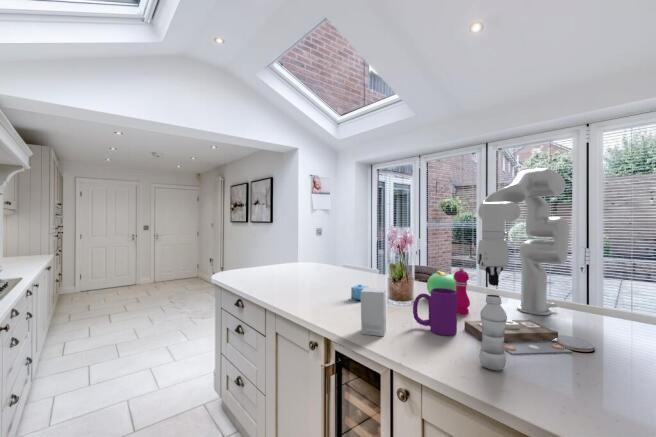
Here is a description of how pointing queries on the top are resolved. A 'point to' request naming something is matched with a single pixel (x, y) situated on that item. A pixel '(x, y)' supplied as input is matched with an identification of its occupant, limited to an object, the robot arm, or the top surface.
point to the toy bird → (441, 281)
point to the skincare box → (373, 311)
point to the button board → (517, 332)
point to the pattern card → (534, 348)
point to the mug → (439, 311)
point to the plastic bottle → (493, 334)
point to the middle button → (511, 325)
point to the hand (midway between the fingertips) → (493, 284)
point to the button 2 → (529, 325)
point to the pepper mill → (462, 291)
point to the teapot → (357, 291)
